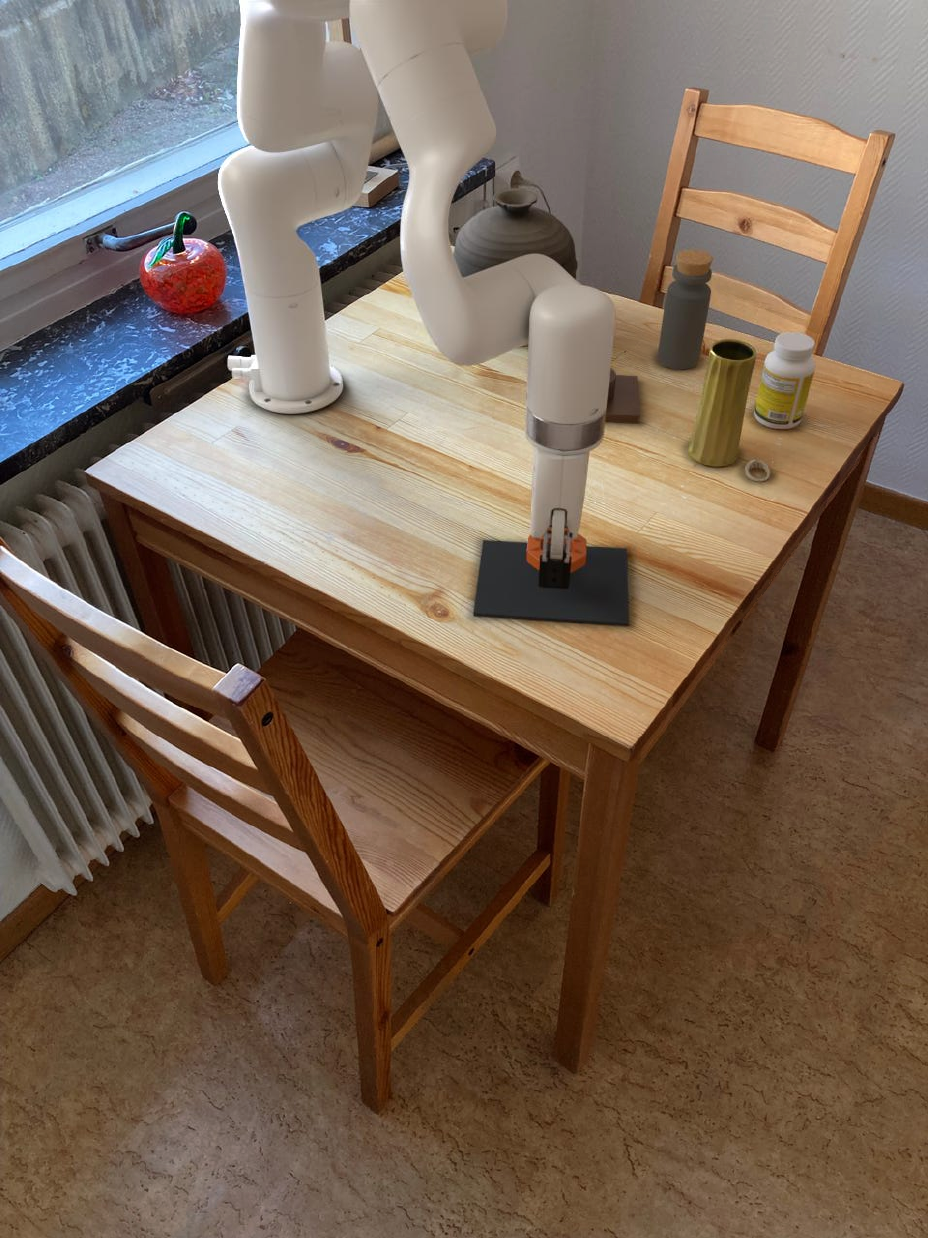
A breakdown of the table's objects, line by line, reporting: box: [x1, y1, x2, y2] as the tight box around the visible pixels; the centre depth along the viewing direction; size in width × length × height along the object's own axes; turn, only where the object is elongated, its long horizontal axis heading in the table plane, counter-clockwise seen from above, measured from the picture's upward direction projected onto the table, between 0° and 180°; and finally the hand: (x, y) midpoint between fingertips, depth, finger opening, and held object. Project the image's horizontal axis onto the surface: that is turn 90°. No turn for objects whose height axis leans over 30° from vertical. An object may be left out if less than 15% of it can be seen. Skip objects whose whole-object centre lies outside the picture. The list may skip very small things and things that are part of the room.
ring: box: [743, 458, 771, 483], centre depth 121 cm, size 2×3×3 cm
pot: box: [453, 187, 579, 281], centre depth 141 cm, size 18×18×20 cm
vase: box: [687, 338, 757, 468], centre depth 119 cm, size 6×6×14 cm
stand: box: [605, 367, 640, 424], centre depth 130 cm, size 12×10×8 cm
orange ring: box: [526, 527, 588, 573], centre depth 105 cm, size 6×6×1 cm
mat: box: [472, 539, 630, 627], centre depth 107 cm, size 16×12×1 cm
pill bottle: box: [753, 331, 816, 430], centre depth 126 cm, size 6×6×11 cm
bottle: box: [657, 249, 714, 371], centre depth 136 cm, size 6×6×15 cm
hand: (554, 563), depth 106 cm, fingers closed on orange ring, 6 cm apart
